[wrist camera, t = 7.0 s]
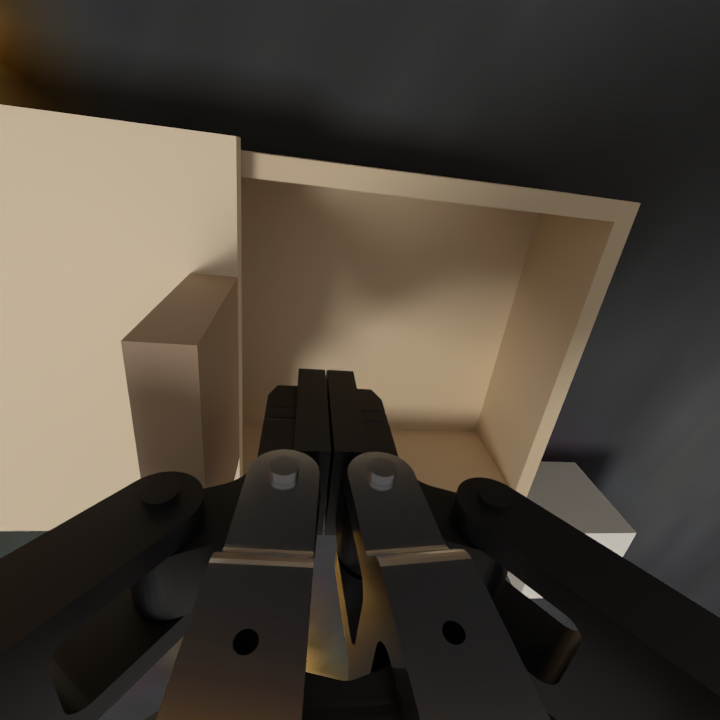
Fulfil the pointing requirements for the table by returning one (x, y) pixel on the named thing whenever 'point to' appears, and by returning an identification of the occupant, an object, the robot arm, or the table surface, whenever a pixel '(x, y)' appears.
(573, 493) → the block
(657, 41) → the table surface
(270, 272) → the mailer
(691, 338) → the table surface
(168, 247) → the lid
